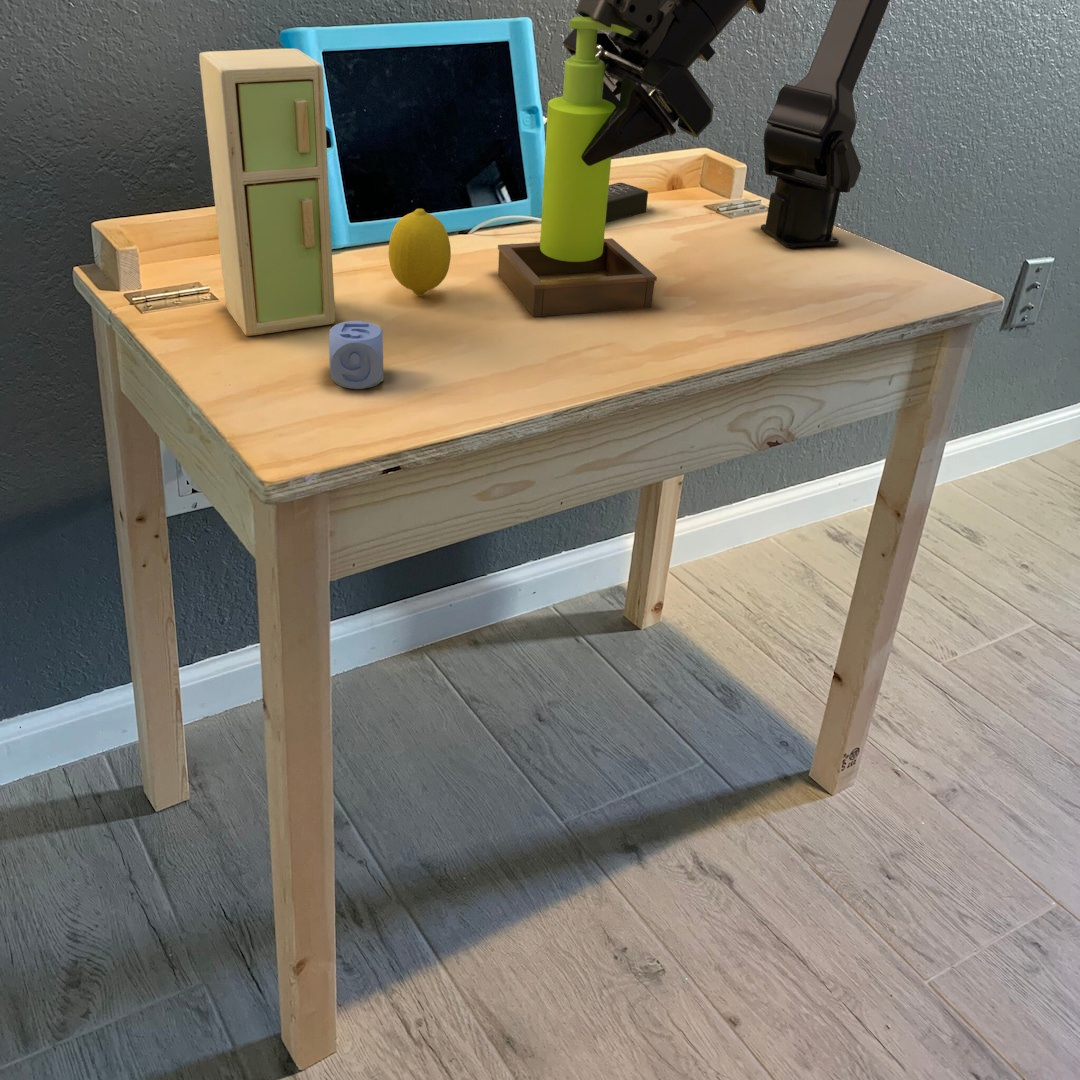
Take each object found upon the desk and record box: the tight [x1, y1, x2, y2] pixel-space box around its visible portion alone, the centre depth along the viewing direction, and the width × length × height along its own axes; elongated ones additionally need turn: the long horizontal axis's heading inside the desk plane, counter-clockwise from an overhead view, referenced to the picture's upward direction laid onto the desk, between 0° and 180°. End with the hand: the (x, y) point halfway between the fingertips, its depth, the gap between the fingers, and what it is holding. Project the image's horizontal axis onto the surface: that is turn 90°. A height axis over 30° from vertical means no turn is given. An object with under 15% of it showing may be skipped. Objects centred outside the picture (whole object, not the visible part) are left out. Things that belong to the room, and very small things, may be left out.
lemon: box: [388, 208, 452, 297], centre depth 102 cm, size 6×6×8 cm
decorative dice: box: [328, 320, 385, 390], centre depth 88 cm, size 4×4×4 cm
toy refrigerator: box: [198, 48, 336, 337], centre depth 92 cm, size 8×7×21 cm
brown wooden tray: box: [497, 237, 658, 318], centre depth 106 cm, size 12×11×3 cm
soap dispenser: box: [539, 16, 635, 262], centre depth 100 cm, size 6×7×20 cm
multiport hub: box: [605, 182, 649, 224], centre depth 127 cm, size 4×11×2 cm, turn 136°
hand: (569, 152), depth 100 cm, fingers closed on soap dispenser, 6 cm apart
